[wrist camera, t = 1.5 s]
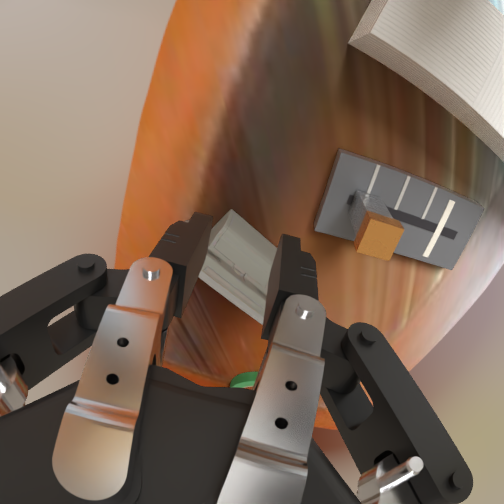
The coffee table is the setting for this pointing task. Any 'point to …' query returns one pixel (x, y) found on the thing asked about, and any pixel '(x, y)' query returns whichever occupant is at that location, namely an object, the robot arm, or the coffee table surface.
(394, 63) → the stack of papers
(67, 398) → the robot arm
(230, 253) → the digital clock
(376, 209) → the fader
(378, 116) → the coffee table surface
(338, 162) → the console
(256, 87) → the coffee table surface
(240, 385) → the tape roll
